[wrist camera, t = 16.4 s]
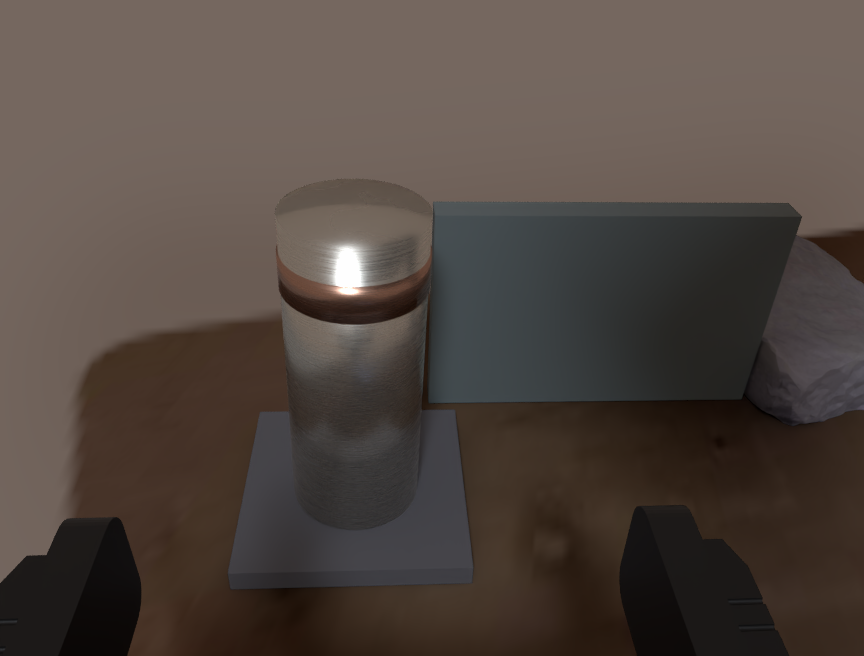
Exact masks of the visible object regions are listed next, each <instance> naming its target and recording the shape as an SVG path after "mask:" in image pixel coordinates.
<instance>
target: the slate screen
mask: <svg viewBox="0 0 864 656" xmlns="http://www.w3.org/2000/svg"><path fill="white" fill-rule="evenodd" d="M801 218H802V216H801V215H800V214H799V213H798V212H796V210H795V209H794V208H793V207H792V206H791V205H790V204H789V203H626V202H609V203H608V202H433V227H432V263H431V289H430V319H429V350H428V381H427V388H428V401H429V403H475V402H562V401H648V400H735V399H742V396H743V393H744V390H745V387H746V384H747V381H748V378H749V375H750V372H751V369H752V366H753V363H754V360H755V357H756V354H757V351H758V348H759V345H760V342H761V339H762V336H763V333H764V330H765V327H766V324H767V321H768V318H769V315H770V312H771V309H772V306H773V303H774V300H775V297H776V294H777V291H778V288H779V285H780V282H781V279H782V276H783V273H784V270H785V267H786V264H787V261H788V258H789V255H790V252H791V249H792V246H793V243H794V240H795V237H796V233H797V230H798V227H799V224H800V221H801Z"/></svg>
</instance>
